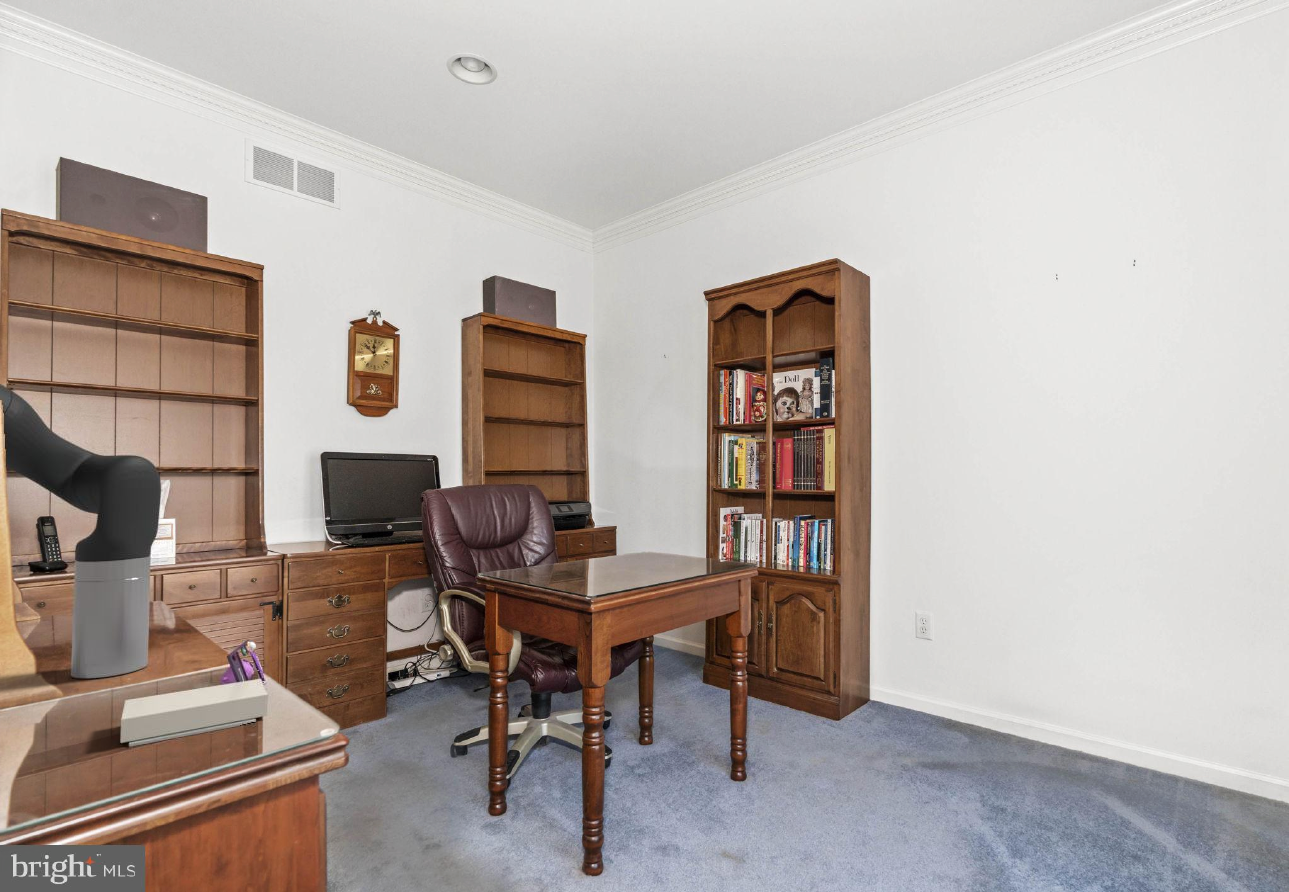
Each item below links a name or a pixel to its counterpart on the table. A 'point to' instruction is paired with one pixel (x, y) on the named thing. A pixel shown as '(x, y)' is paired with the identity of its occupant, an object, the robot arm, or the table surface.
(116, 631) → the robot arm
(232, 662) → the purple frame
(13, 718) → the table surface
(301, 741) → the table surface
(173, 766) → the table surface
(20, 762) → the table surface
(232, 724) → the mat
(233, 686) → the off-white rectangular block
